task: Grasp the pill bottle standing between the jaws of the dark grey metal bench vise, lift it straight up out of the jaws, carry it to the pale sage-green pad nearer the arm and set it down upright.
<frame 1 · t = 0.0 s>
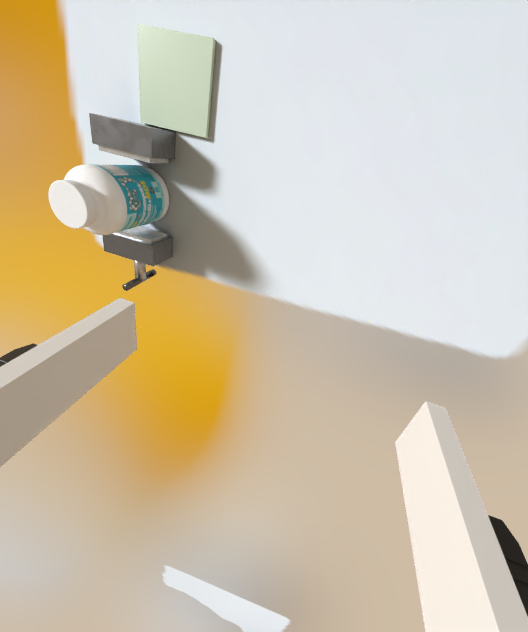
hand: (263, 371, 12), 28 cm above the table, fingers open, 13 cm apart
pill bottle: (149, 194, 40), on the table
pad: (176, 85, 32), on the table
vise: (148, 194, 40), on the table
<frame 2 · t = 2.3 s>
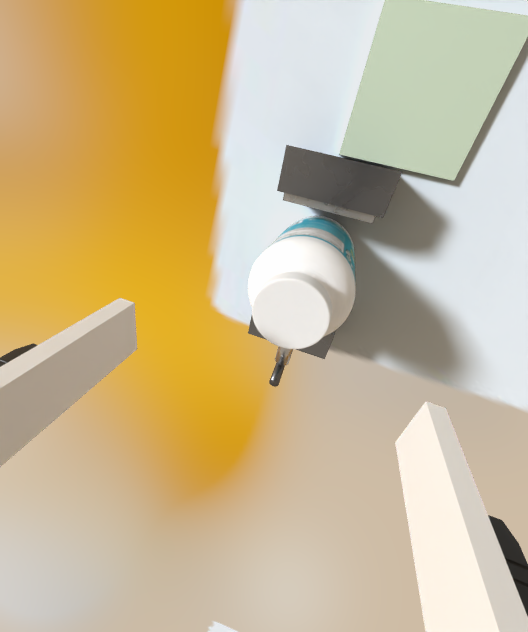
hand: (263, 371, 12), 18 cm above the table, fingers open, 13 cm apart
pill bottle: (315, 252, 28), on the table
pad: (421, 97, 20), on the table
vise: (315, 253, 27), on the table
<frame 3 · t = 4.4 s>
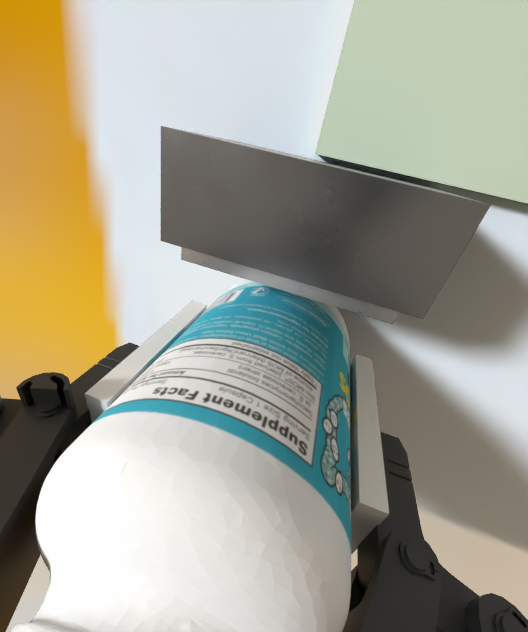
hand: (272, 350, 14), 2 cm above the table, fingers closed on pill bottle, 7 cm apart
pill bottle: (280, 331, 15), on the table, touching gripper
pad: (518, 8, 8), on the table
vise: (279, 333, 15), on the table
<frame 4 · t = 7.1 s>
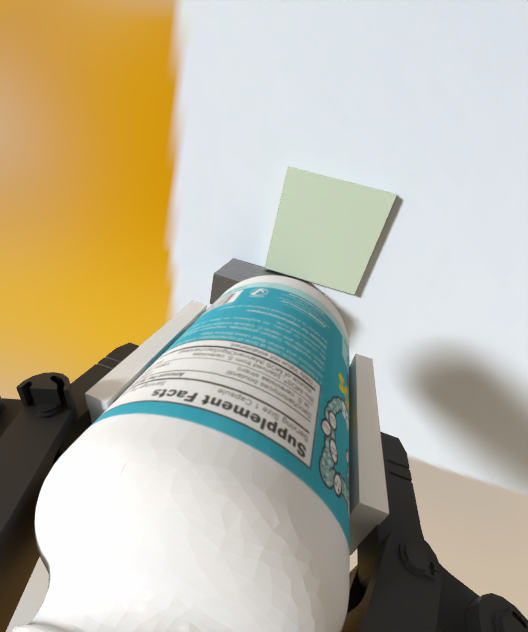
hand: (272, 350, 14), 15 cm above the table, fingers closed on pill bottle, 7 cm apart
pill bottle: (279, 332, 15), point 13 cm above the table, touching gripper
pad: (323, 234, 25), on the table
vise: (254, 335, 32), on the table
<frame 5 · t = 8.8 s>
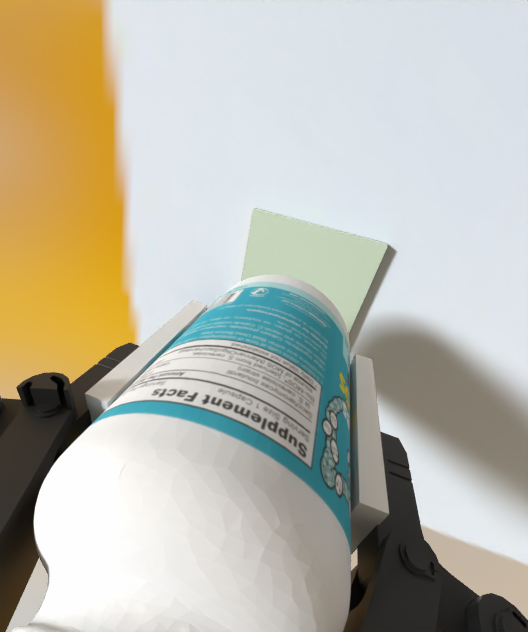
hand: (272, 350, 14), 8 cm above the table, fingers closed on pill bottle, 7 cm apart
pill bottle: (280, 332, 15), point 7 cm above the table, touching gripper
pad: (301, 285, 21), on the table
when the fingers open (4 cm above the table, at t = 10.1 s): pill bottle drops 1 cm, resting on pad.
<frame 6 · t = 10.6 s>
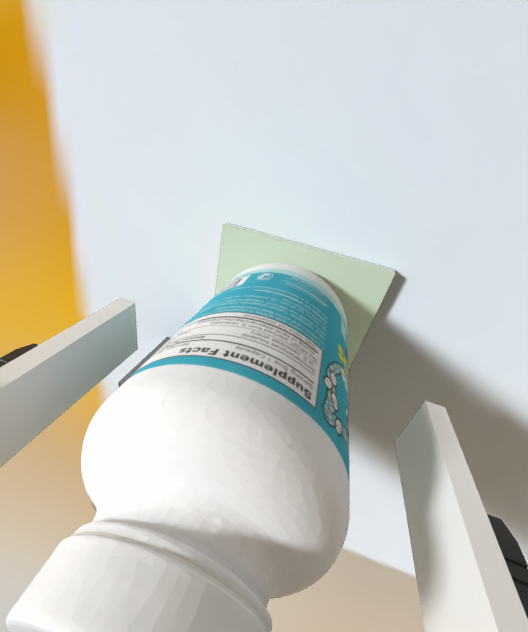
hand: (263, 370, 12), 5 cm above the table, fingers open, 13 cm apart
pill bottle: (282, 318, 16), resting on pad
pad: (286, 316, 17), on the table
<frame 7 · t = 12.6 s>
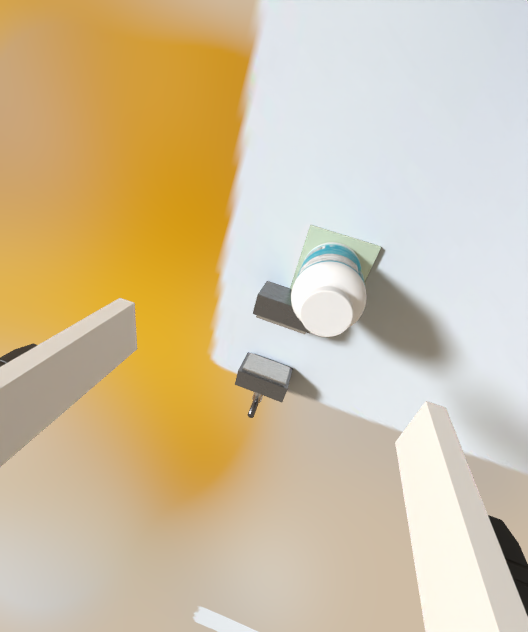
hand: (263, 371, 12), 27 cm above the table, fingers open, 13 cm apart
pill bottle: (331, 268, 36), resting on pad
pad: (332, 268, 37), on the table
vise: (278, 335, 44), on the table
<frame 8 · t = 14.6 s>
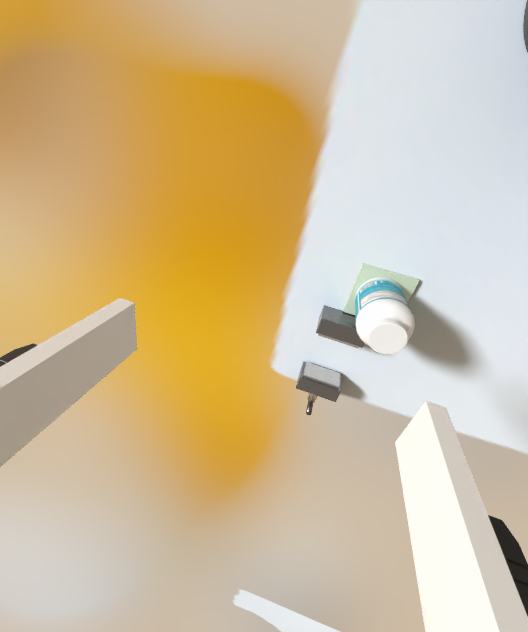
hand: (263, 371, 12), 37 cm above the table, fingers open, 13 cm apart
pill bottle: (378, 295, 46), resting on pad
pad: (378, 295, 46), on the table
vise: (330, 347, 54), on the table
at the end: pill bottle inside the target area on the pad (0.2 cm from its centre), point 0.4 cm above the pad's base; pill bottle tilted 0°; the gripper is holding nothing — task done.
